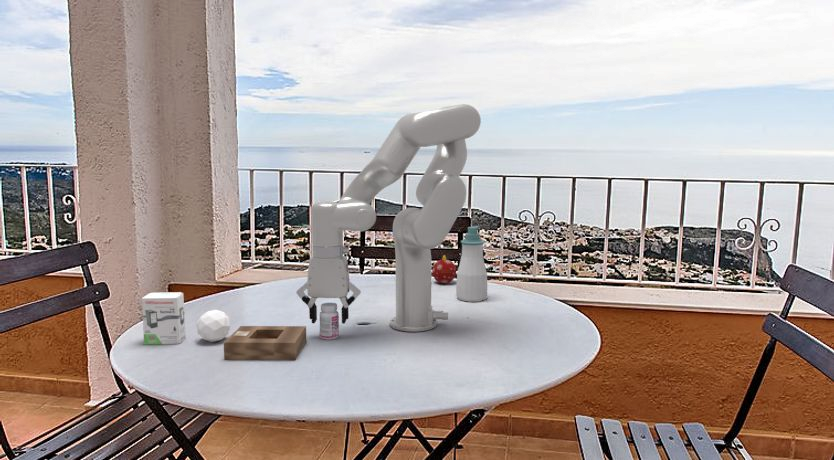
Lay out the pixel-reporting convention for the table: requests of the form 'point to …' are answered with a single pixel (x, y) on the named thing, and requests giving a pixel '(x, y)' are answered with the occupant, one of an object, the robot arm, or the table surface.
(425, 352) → the table surface
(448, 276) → the christmas ornament
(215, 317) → the geometric ball
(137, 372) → the table surface
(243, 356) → the brown flat recessed slab
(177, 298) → the ink box
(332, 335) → the pill bottle
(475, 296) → the soap bottle
